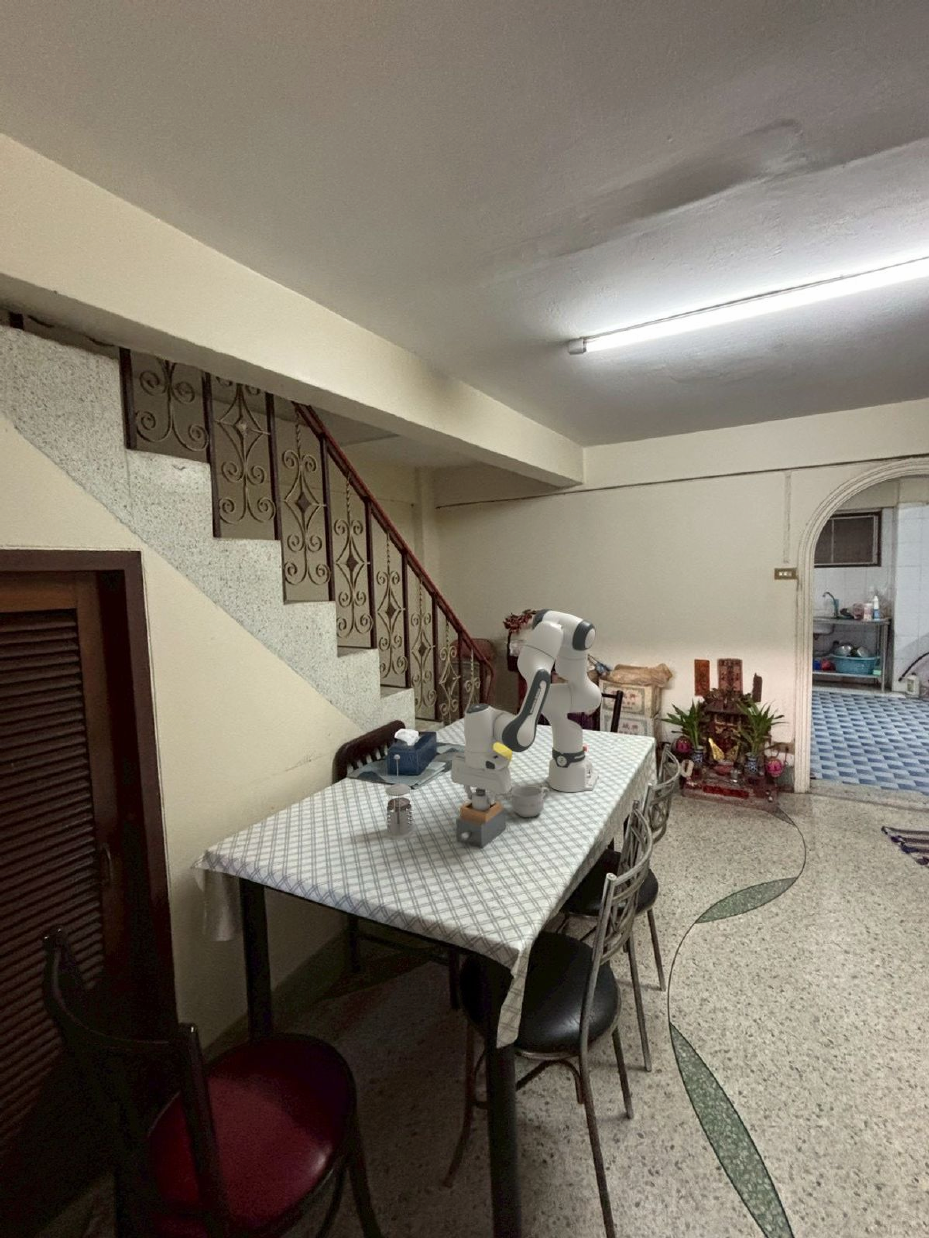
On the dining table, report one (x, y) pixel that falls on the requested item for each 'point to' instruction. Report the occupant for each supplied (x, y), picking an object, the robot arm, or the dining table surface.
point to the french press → (399, 811)
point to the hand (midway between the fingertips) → (480, 801)
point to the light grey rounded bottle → (480, 800)
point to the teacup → (528, 800)
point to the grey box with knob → (480, 824)
